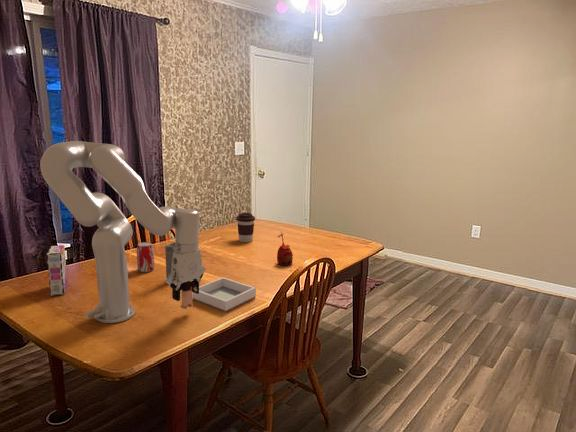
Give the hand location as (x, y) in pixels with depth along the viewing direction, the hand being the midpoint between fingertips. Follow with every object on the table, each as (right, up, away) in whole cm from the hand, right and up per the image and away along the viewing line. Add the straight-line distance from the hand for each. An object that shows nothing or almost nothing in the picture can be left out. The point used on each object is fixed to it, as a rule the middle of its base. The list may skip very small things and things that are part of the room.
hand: (185, 295), depth 147 cm
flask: (-10, +1, +33) cm, 35 cm away
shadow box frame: (+11, -4, +15) cm, 19 cm away
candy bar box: (-53, -1, +19) cm, 56 cm away
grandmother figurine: (0, -4, +1) cm, 4 cm away
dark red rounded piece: (+33, +5, +55) cm, 64 cm away
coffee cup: (+12, +13, +89) cm, 91 cm away
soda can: (-27, +3, +42) cm, 50 cm away
